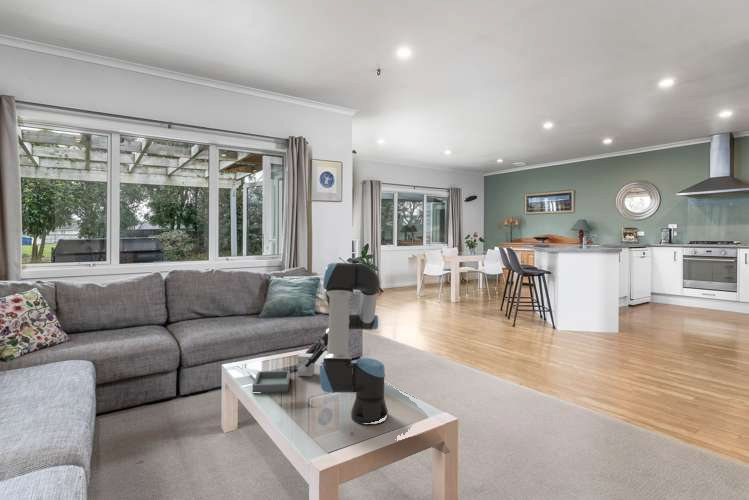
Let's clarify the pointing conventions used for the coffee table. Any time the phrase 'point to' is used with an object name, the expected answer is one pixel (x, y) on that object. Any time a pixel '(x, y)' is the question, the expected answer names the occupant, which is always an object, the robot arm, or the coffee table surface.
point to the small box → (301, 360)
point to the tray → (271, 382)
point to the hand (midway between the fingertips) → (299, 368)
